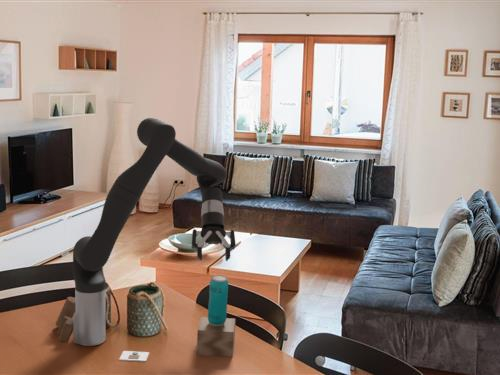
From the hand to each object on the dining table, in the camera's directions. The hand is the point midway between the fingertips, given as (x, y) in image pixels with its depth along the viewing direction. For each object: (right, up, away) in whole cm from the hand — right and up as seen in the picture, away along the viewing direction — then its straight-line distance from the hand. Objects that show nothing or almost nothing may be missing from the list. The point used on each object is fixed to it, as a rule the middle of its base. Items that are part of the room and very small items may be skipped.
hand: (213, 259), depth 215 cm
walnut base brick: (+1, -27, -6) cm, 28 cm away
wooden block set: (-48, -24, +3) cm, 53 cm away
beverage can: (+1, -20, -7) cm, 21 cm away
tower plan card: (-23, -28, -14) cm, 39 cm away
